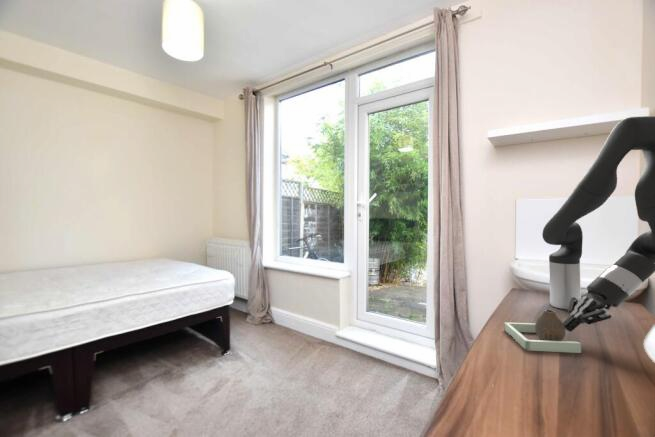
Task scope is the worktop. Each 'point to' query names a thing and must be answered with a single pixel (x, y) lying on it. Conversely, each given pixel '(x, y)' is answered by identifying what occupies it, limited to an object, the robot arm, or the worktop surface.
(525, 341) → the bay
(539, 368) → the worktop surface
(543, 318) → the vase
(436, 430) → the worktop surface
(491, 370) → the worktop surface
